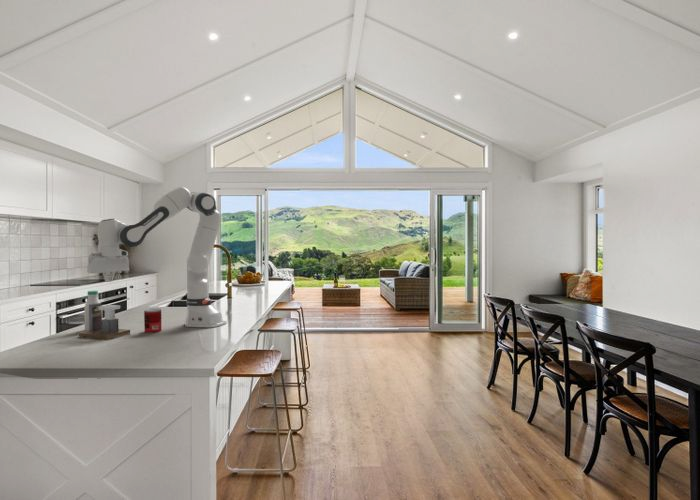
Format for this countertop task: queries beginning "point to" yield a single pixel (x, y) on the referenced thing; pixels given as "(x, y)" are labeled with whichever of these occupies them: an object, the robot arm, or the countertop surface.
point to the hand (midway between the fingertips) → (109, 281)
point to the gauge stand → (102, 326)
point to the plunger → (109, 311)
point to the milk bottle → (91, 300)
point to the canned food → (152, 320)
